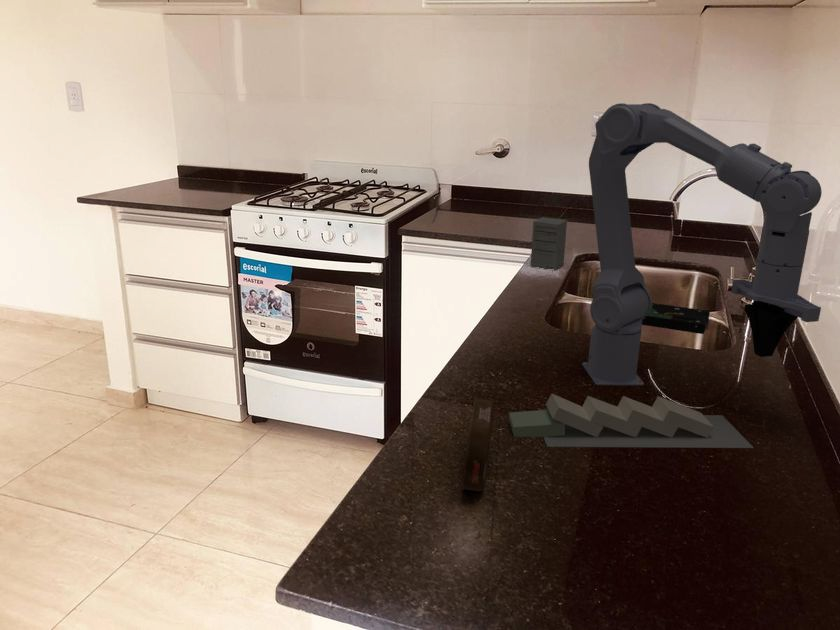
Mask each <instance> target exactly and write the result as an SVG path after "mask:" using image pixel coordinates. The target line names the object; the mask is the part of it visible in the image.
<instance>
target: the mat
mask: <svg viewBox="0 0 840 630" xmlns="http://www.w3.org/2000/svg"><path fill="white" fill-rule="evenodd" d="M703 416H704V417H705V418H706V419H707V420H708V421H709V422H710V423H711V424H712V425H713V427H714V428H713V430H712V432H711V433H710V435H709V437H708V438H706V437H703V436H701V435H698V434H695V433H693V432H690V431H687V430H685V429H682V428H680V427H678V428H677V430H676V432H675V433H674V435H673V437H672V438H671V437H668V436H665V435H663V434H660V433H657V432H655V431H652V430H649V429H647V428H644V427H641V429H640V431H639V433H638V435H637V437H636V438H635V437H633V436H630V435H627V434H624V433H622V432H619V431H616V430H614V429H611V428H608V427H605V426H603V429H602V430H601V432H600V434H599V435H598V437H595V436H592V435H590V434H588V433H585V432H583V431H581V430H578V429H576V428H574V427H571V426H569V425H567V424H565V435H564V436H550V437H543V439H544V443H545V445H546V447H547V448H655V449H656V448H665V449H666V448H670V449H672V448H673V449H678V448H681V449H682V448H683V449H685V448H688V449H689V448H690V449H754V446H753V445H752V444H751V443H750V442H749V441H748V440H747V439H746V438H745V437H744V436H743V435H742V434H741V433H740V432H739V431H738V430H737V428H735V427H734V426H733V425H732V424H731V422H729V421H728V419H726V418H725V416H724V415H722V414H721V415H720V414H715V415H714V414H711V415H710V414H709V415H708V414H703Z"/></svg>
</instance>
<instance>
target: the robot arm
mask: <svg viewBox="0 0 840 630" xmlns="http://www.w3.org/2000/svg"><path fill="white" fill-rule="evenodd" d="M595 132H596V135H595V137H594V141H593V145H592V148H591V152H590V155H589V158H588V169H589V179H590V188H591V196H592V207H593V213H594V214H593V215H594V223H595V225H594V226H595V231H596V241H597V251H598V260H599V261H598V262H599V269H600V272H599V274H598V276H597V278H596V280H595V281H594V283H593V285H592V291H593V293H592V294H593V295H592V299H591V303H590V307H589V312H590V313H589V314H590V316H591V320H592V321H593V323H594V325H593V327H592V329H591V331H590V341H589V350H588V351H589V352H588V361H583V362H582V367H583V368H584V370H585V371H586V373H587V374H588V376H589V377H590V378H591V380H592V382H593V383H594V385H596V386H644V385H645V383H644V381H643V380H642V379H641V378H640V376H639V375H638V374H637V371H638V370H637V369H638V364H639V363H638V362H639V354H640V347H641V337H642V331H643V330H642V329H643V325H642V319H643V318H644V317H645V316H647V315H648V313H649V312H650V310H651V306H652V303H653V302H652V297H651V294H650V292H649V291H648V288H647V287H646V285H645V278H644V275H643V273H642V272H641V271H640V269H638V268H637V267H636V262H635V251H634V241H633V233H632V223H631V213H630V204H629V195H628V186H627V185H628V184H627V177H626V169H627V167H628V166H629V165H630V164H631V163H632V161H633V160H634V159H635V158H636V157H637V155H639V154H640V153H641V152H642V151H644V150H646V149H648V148H649V147H651V146H652V145H654V144H661V143H663V144H664V143H665V144H669V145H671V146H672V147H674V148H677V149H678V150H681V151H683V152H685V153H687V154H688V155H691V157H695V158H697V159H698V160H701V161H702V162H705V163H706V164H708V165H710V166H712V167H714V169H715V173H716V176H717V179H718V180H719V181H720V182H721V183H723V184H726V185H727V186H729V187H730V188H732V189H734V190H736V191H738V192H739V193H741V194H742V195H745V197H748V198H750V199H751V200H753V201H755V202H757V203H760V205H761V207H762V209H763V211H764V213H765V214H764V222H763V226H762V228H761V229H762V230H761V236H760V242H759V247H758V253H757V259H756V263H755V264H756V265H755V269H754V276H753V281H750V280H746V279H733V280H732V285H731V290H730V293H732V294H735V295H741V296H744V297H745V298H746V299H749V300H752V302H751V303H748V304H745V305H744V307H743V310H744V313H745V314H746V317H747V319H748V321H749V322H748V323H749V325H750V329H751V335H752V342H753V353H754V355H756V356H759V357H761V358H764V357H765V358H766V357H773V355H774V352H775V351H776V349H777V347H778V344H779V343H780V341H781V339H782V337H783V336H784V334H785V333H786V332H787V330H788V329H789V328H790V326H791V325H792V324H793V323H794V322H795V321H796V320H797V318H800V320H801V321H802V322H804V323H813V322H815V323H816V322H819V320H820V315H821V309H822V307H821V306H818V305H816V304H814V303H812V302H810V301H809V300H807V299H806V298H804V297H802V296H801V295H800V294H799V289H800V283H801V277H802V273H803V267H804V263H805V262H804V261H805V256H806V251H807V247H808V241H809V237H810V236H809V235H810V226H811V220H812V215H813V212H811V211H812V210H813V209H815V208H816V207H817V206H818V204H819V202H820V201H821V198H822V192H823V191H822V187H821V184H820V182H819V179H817V178H816V177H815V176H813V175H812V174H811V173H810V172H809V171H808V170H795V171H792V168H793V164H791V163H790V162H787V161H784V162H779V160H776V159H774V158H772V157H770V156H768V155H766V154H765V153H763V152H761V149H762V147H761V146H759V144H756V143H750V144H748V145H747V144H746V143H744V142H743V143H742V142H741V143H737V144H735V145H732V146H729V145H727V144H726V143H724V142H722V141H721V140H719V139H718V138H716V137H715V136H713V135H711V134H710V133H708V132H706V131H704V129H701V128H699V127H698V126H696V125H695V124H693V123H691V122H690V121H688V120H686V119H685V118H683V117H682V116H679V114H676V113H674V112H673V111H671V110H669V109H666V108H661V107H660V106H658V105H656V104H654V103H649V102H645V103H641V104H639V103H638V104H636V103H635V104H627V103H615V104H612V105H611V106H610V107H608V108H607V109H606V110H605V111H604V113H603V114H602V115H601V116H600V117H599V118H598V120H597V121H596V122H595Z"/></svg>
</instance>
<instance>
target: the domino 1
mask: <svg viewBox="0 0 840 630" xmlns="http://www.w3.org/2000/svg"><path fill="white" fill-rule="evenodd" d="M508 414H509V415H508V416H509V417H508V419H509V421H508V422H509V425H510V428H511V431H512V432H511V433H512V435H513V438H544V437H550V436H564V435H565V424H564V423H562V422H560V421H557V420H555V419H553V418H552V416H551V414H550V412H549V410H548V409H540V410H539V409H538V410H528V411H512V412H508Z"/></svg>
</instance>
